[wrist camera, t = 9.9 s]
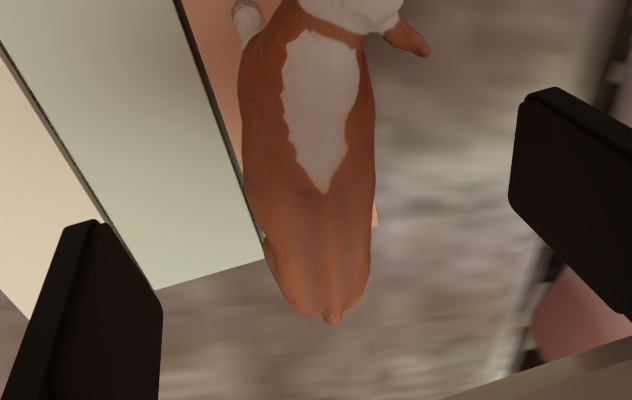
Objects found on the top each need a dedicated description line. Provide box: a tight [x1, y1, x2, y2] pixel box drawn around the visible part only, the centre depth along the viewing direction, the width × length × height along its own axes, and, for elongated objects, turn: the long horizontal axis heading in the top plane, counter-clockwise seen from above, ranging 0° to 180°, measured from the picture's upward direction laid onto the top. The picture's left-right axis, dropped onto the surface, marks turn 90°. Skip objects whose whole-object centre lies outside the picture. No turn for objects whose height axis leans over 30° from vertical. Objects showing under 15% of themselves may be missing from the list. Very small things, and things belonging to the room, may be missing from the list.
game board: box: [0, 0, 378, 320], centre depth 17 cm, size 16×18×1 cm
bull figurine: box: [231, 0, 430, 325], centre depth 14 cm, size 4×13×8 cm, turn 178°
